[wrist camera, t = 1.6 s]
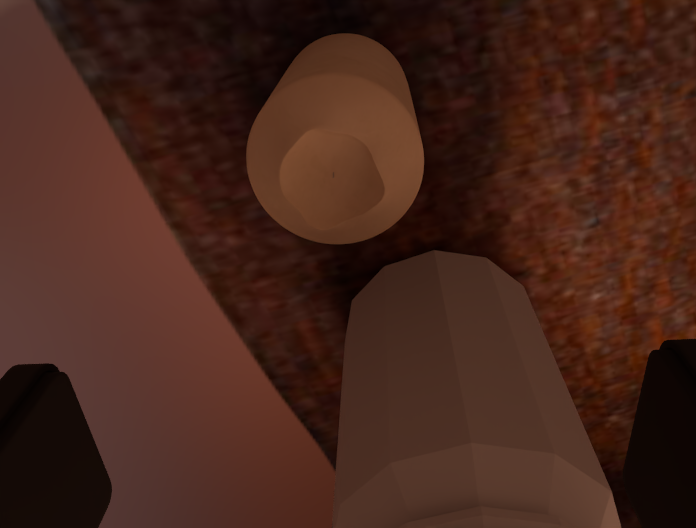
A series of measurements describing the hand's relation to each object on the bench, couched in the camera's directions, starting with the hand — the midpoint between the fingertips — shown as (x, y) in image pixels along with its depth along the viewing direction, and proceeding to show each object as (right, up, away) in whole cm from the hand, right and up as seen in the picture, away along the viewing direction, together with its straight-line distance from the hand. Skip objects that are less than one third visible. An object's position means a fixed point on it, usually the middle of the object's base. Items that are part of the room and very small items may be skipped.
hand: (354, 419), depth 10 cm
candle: (0, +10, +16) cm, 19 cm away
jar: (+5, 0, +22) cm, 22 cm away
